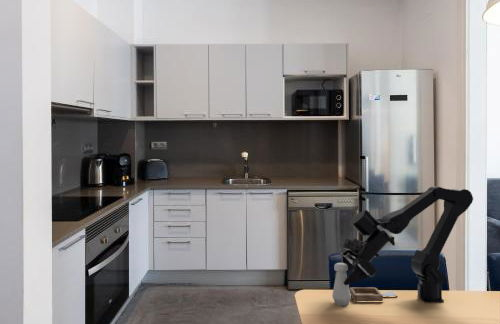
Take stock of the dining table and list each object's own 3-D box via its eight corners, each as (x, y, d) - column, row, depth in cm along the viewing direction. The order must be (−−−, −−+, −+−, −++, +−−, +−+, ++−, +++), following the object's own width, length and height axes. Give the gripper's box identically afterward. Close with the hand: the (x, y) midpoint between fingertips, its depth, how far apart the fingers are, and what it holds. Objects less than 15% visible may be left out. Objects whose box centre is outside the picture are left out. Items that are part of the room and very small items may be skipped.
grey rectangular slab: (391, 293, 148) (391, 291, 148) (397, 297, 143) (397, 295, 143) (372, 293, 148) (372, 291, 148) (376, 297, 143) (376, 296, 143)
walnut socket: (376, 294, 147) (375, 287, 147) (382, 302, 138) (382, 295, 138) (349, 294, 148) (349, 287, 148) (354, 302, 139) (354, 295, 139)
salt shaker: (352, 306, 134) (351, 265, 134) (334, 306, 134) (333, 265, 135) (348, 300, 140) (348, 261, 140) (331, 301, 140) (330, 261, 140)
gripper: (345, 224, 147) (315, 257, 146) (366, 232, 129) (331, 270, 128) (368, 246, 148) (337, 279, 147) (391, 258, 130) (356, 295, 128)
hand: (339, 280), depth 137 cm, fingers open, 9 cm apart
